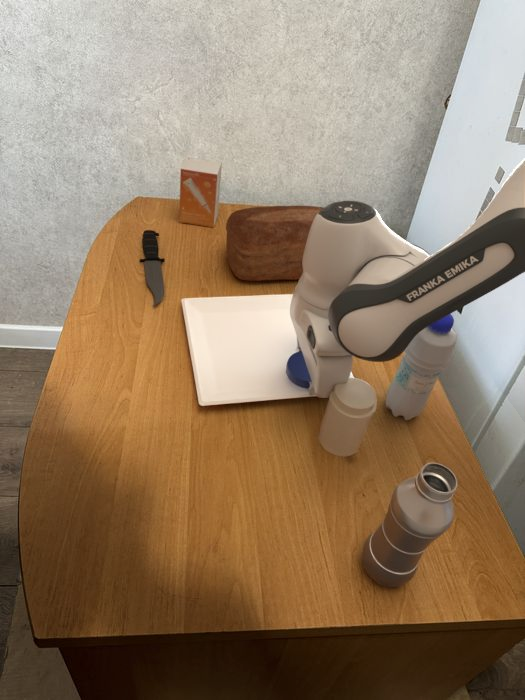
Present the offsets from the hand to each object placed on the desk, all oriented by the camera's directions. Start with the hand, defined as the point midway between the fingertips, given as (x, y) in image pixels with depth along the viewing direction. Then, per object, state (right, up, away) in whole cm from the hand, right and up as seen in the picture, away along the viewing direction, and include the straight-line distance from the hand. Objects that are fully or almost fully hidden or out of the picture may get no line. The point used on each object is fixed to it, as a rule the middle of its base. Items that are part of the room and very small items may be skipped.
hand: (307, 373), depth 86 cm
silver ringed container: (+8, -24, -20) cm, 32 cm away
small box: (-22, +34, +36) cm, 54 cm away
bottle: (+15, -6, 0) cm, 16 cm away
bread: (-1, +22, +26) cm, 34 cm away
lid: (0, +1, -1) cm, 1 cm away
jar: (+4, -10, -6) cm, 12 cm away
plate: (-7, +4, +6) cm, 10 cm away
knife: (-29, +20, +20) cm, 40 cm away
